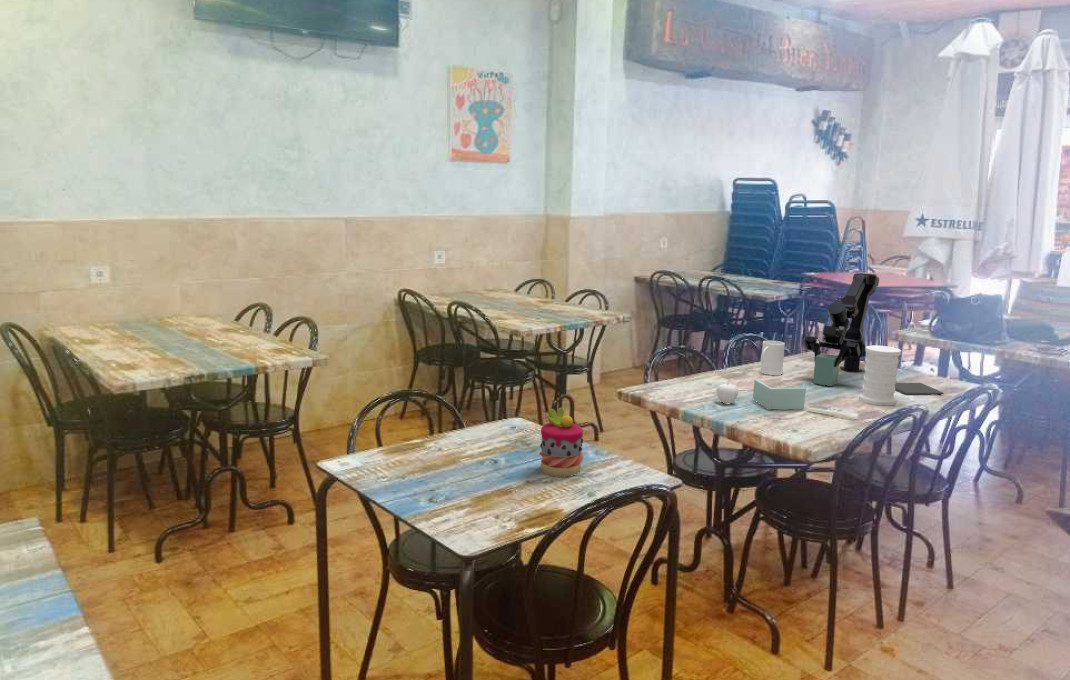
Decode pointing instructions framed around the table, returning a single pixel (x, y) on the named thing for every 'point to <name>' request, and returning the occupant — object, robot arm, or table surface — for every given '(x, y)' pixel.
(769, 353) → the mug
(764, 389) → the right angle wall
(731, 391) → the plain white apple
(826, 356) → the green block
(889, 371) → the decorative container
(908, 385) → the mat
